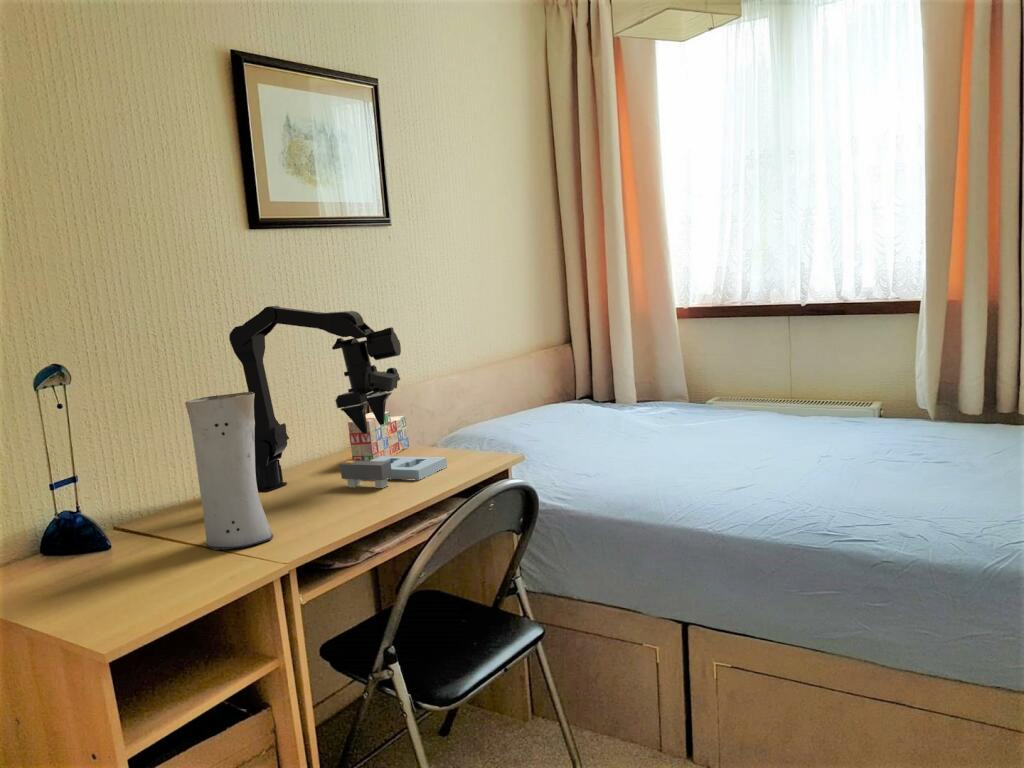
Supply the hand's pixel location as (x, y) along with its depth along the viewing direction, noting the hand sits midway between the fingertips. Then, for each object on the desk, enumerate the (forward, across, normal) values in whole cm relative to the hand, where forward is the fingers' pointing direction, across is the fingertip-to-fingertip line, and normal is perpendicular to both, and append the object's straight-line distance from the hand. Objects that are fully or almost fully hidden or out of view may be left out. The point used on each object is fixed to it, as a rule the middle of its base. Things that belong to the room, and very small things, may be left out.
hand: (373, 428), depth 184 cm
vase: (+11, -41, +11) cm, 44 cm away
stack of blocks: (+12, +25, +13) cm, 31 cm away
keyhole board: (+13, +7, -1) cm, 14 cm away
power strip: (+12, -6, +2) cm, 14 cm away
